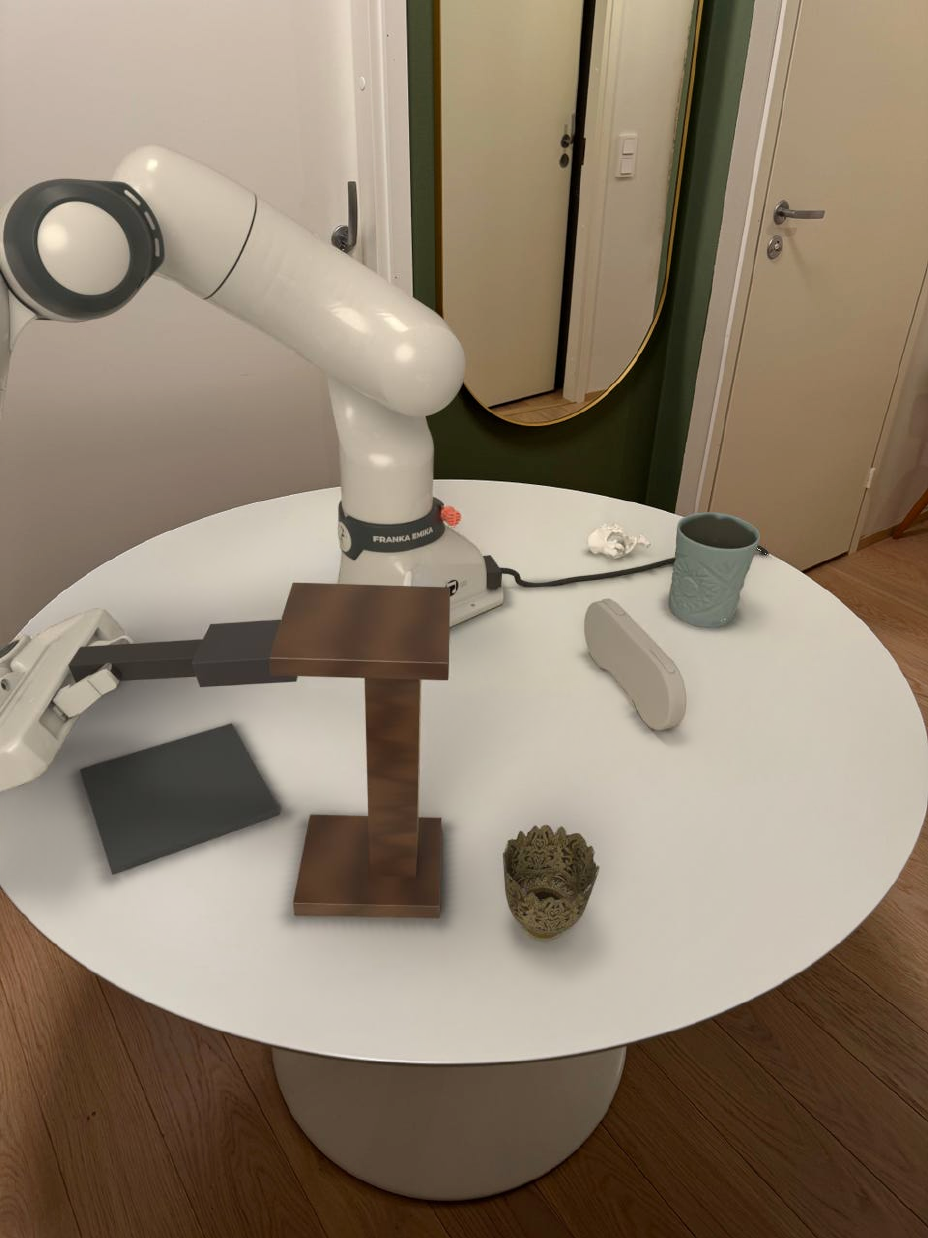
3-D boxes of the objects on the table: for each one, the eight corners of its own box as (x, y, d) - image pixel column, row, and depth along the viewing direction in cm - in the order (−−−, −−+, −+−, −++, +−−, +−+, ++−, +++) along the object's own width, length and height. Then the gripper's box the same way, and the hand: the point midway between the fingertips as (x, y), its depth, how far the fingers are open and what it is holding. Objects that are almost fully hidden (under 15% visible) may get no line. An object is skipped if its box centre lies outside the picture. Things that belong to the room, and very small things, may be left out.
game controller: (681, 741, 93) (695, 678, 88) (662, 745, 92) (676, 682, 87) (596, 642, 108) (605, 584, 103) (580, 645, 107) (587, 587, 103)
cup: (492, 891, 75) (498, 824, 71) (577, 887, 76) (587, 821, 71) (503, 967, 69) (510, 899, 64) (595, 962, 69) (608, 895, 65)
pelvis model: (613, 546, 122) (583, 523, 126) (608, 571, 124) (578, 548, 129) (655, 532, 125) (624, 511, 130) (649, 557, 128) (619, 535, 132)
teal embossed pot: (730, 593, 119) (749, 513, 113) (748, 634, 111) (770, 550, 104) (656, 589, 119) (671, 509, 113) (668, 630, 111) (685, 546, 104)
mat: (232, 728, 91) (231, 723, 91) (279, 814, 81) (279, 808, 81) (81, 775, 85) (79, 769, 84) (112, 874, 75) (110, 868, 74)
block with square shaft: (308, 641, 74) (302, 617, 73) (296, 682, 70) (290, 657, 69) (94, 655, 76) (84, 631, 75) (68, 695, 71) (57, 671, 70)
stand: (441, 829, 81) (450, 586, 67) (439, 918, 72) (449, 663, 58) (310, 826, 80) (292, 581, 66) (293, 915, 72) (268, 657, 58)
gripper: (-94, 778, 66) (47, 711, 62) (20, 629, 83) (136, 570, 80) (-33, 831, 69) (105, 769, 65) (65, 676, 86) (179, 622, 83)
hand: (123, 659), depth 73 cm, fingers closed on block with square shaft, 3 cm apart
